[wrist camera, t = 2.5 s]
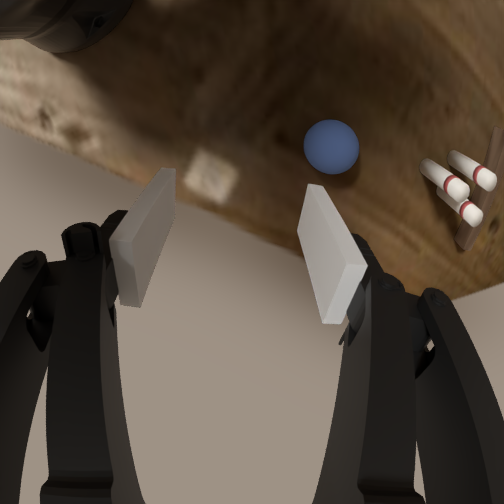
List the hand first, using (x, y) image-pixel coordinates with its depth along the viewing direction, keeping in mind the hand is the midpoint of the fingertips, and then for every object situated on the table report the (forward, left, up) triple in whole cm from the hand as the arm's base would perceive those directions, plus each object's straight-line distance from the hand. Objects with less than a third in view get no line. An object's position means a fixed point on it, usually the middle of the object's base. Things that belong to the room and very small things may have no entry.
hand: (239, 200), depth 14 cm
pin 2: (+29, -3, -20) cm, 35 cm away
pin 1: (+29, +2, -20) cm, 35 cm away
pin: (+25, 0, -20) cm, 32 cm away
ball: (+10, 0, -17) cm, 19 cm away
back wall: (+37, 0, -20) cm, 42 cm away
